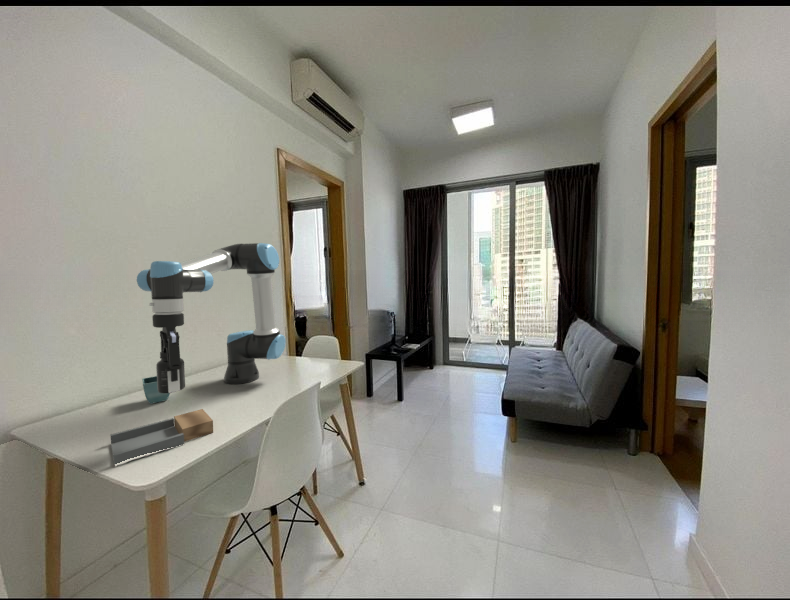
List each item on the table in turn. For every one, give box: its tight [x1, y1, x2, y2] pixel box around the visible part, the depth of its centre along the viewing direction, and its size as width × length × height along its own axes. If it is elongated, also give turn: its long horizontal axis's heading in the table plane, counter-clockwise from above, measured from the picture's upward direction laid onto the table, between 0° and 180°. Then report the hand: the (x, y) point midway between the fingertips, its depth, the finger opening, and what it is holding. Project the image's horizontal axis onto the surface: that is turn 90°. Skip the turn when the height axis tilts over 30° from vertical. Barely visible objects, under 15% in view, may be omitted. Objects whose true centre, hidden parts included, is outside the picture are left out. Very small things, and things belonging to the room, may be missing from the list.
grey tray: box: [110, 417, 185, 465], centre depth 88 cm, size 15×15×3 cm
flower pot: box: [141, 375, 171, 405], centre depth 120 cm, size 9×9×9 cm
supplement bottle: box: [155, 351, 186, 394], centre depth 92 cm, size 7×7×12 cm
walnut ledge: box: [173, 408, 214, 443], centre depth 97 cm, size 8×12×4 cm, turn 46°
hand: (171, 388), depth 92 cm, fingers closed on supplement bottle, 7 cm apart
